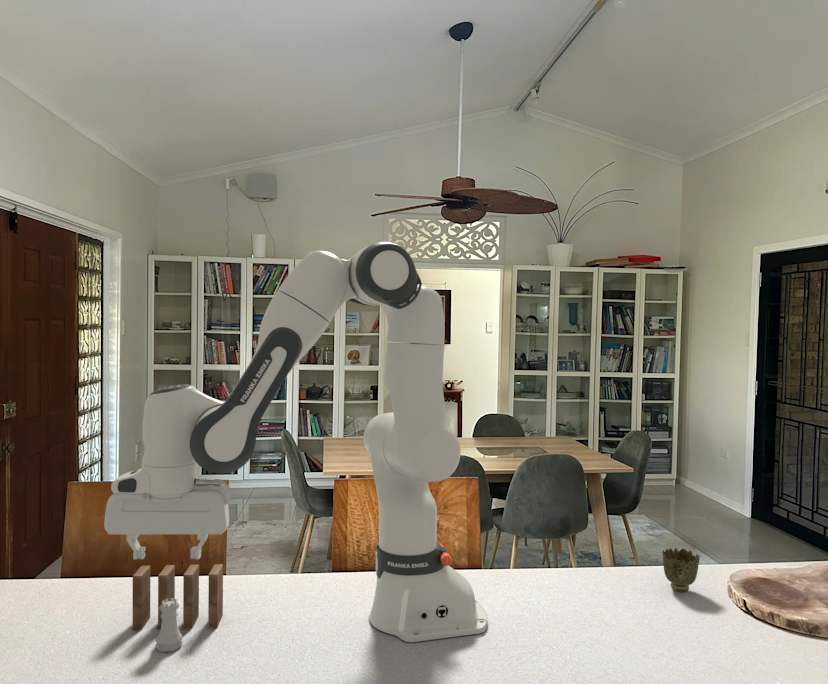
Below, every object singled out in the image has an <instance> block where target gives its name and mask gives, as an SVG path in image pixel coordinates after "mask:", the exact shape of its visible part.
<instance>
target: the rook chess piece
mask: <svg viewBox="0 0 828 684" xmlns="http://www.w3.org/2000/svg"><path fill="white" fill-rule="evenodd" d="M179 607H180V604H179V603H178V599H177V598H175V599H174V601H173V598H170V601H168V599H165V602H164V601H162V604H161V606H160V607H159V609H160V610H161V612H162V615H161V618H162V624H161V629H159V632H158V635H157V637H156V638H155V649H156V650H157V651H158V652H160V653H170V652H174V651H176V650H178V649H180V647H182V644H183V640H182V639H183V635H182V633H181V632H180V629H179V628H178V627H179V626H178V620H177V617H178V611H177V610H178V609H179Z"/></svg>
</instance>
